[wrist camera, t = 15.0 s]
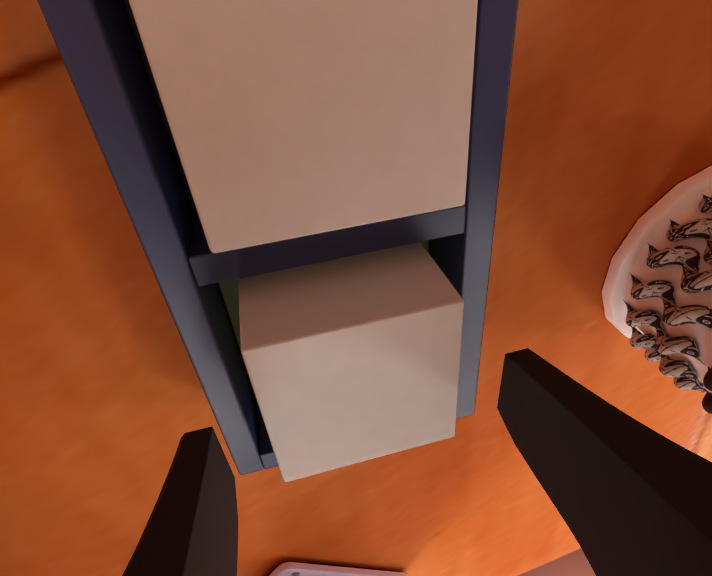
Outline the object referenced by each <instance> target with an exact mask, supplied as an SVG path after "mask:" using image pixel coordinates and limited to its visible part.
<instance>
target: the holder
mask: <svg viewBox="0 0 712 576" xmlns="http://www.w3.org/2000/svg"><path fill="white" fill-rule="evenodd" d="M37 1H38V3H39V5H40V8H41V10H42V12H43V15H44V17H45V20H46V22H47V24H48V27H49V29H50V31H51V34H52V36H53V38H54V41H55V43H56V45H57V48H58V50H59V52H60V55H61V57H62V59H63V62H64V64H65V66H66V69H67V71H68V73H69V76H70V78H71V80H72V83H73V85H74V87H75V90H76V92H77V95H78V97H79V99H80V102H81V104H82V106H83V109H84V111H85V113H86V116H87V118H88V120H89V123H90V125H91V127H92V130H93V132H94V134H95V137H96V139H97V141H98V144H99V146H100V148H101V151H102V153H103V155H104V158H105V160H106V163H107V165H108V167H109V170H110V172H111V174H112V177H113V179H114V181H115V184H116V186H117V188H118V191H119V193H120V195H121V198H122V200H123V202H124V205H125V207H126V209H127V212H128V214H129V216H130V219H131V221H132V223H133V226H134V228H135V230H136V233H137V235H138V238H139V240H140V242H141V245H142V247H143V249H144V252H145V254H146V256H147V259H148V261H149V263H150V266H151V268H152V270H153V273H154V275H155V277H156V280H157V282H158V284H159V287H160V289H161V291H162V294H163V296H164V298H165V301H166V303H167V305H168V308H169V310H170V313H171V315H172V317H173V320H174V322H175V324H176V327H177V329H178V331H179V334H180V336H181V338H182V341H183V343H184V345H185V348H186V350H187V352H188V355H189V357H190V359H191V362H192V364H193V366H194V369H195V371H196V373H197V376H198V378H199V380H200V383H201V385H202V388H203V390H204V392H205V395H206V397H207V399H208V402H209V404H210V406H211V409H212V411H213V413H214V416H215V418H216V420H217V423H218V425H219V427H220V430H221V432H222V434H223V437H224V439H225V441H226V444H227V446H228V448H229V451H230V453H231V456H232V458H233V460H234V463H235V465H236V467H237V470H238V472H239V474H240V475H244V474H248V473H252V472H255V471H259V470H262V469H263V468H265V469H268V468H272V467H276V466H278V463H277V460H276V457H275V454H274V451H273V448H272V444H271V441H270V438H269V435H268V432H267V429H266V426H265V423H264V420H263V417H262V414H261V411H260V408H259V405H258V402H257V399H256V396H255V393H254V390H253V387H252V384H251V381H250V378H249V375H248V372H247V368H246V365H245V362H244V359H243V356H242V353H241V341H240V317H239V293H238V279H239V278H244V277H249V276H254V275H259V274H264V273H269V272H274V271H279V270H284V269H289V268H293V267H298V266H303V265H308V264H313V263H318V262H323V261H328V260H333V259H338V258H343V257H348V256H353V255H358V254H363V253H368V252H373V251H378V250H383V249H387V248H392V247H397V246H402V245H407V244H412V243H417V242H420V243H421V244H422V245H423V247H424V248H425V249H426V251H427V252H428V253H429V255H430V256H431V257H432V259H433V260H434V261H435V263H436V264H437V265H438V267H439V268H440V269H441V271H442V272H443V273H444V275H445V276H446V277H447V279H448V280H449V281H450V283H451V284H452V286H453V287H454V288H455V290H456V291H457V292H458V294H459V295H460V296H461V298H462V299H463V300H464V309H463V323H462V337H461V351H460V366H459V380H458V394H457V408H456V419H457V418H461V417H464V416H468V415H472V414H474V410H475V401H476V391H477V382H478V373H479V363H480V354H481V345H482V335H483V326H484V317H485V307H486V298H487V289H488V279H489V270H490V261H491V251H492V242H493V233H494V223H495V214H496V205H497V195H498V186H499V177H500V167H501V158H502V149H503V139H504V130H505V121H506V111H507V102H508V93H509V84H510V74H511V65H512V56H513V46H514V37H515V28H516V18H517V9H518V0H478V4H477V21H476V37H475V53H474V69H473V85H472V101H471V117H470V133H469V149H468V165H467V182H466V198H465V204H464V205H462V206H458V207H453V208H448V209H442V210H437V211H432V212H427V213H422V214H416V215H411V216H406V217H401V218H396V219H391V220H385V221H380V222H375V223H370V224H365V225H359V226H354V227H349V228H344V229H339V230H333V231H328V232H323V233H318V234H313V235H307V236H302V237H297V238H292V239H287V240H282V241H276V242H271V243H266V244H261V245H256V246H250V247H245V248H240V249H235V250H230V251H224V252H219V253H212V251H211V250H210V249H209V246H208V243H207V240H206V237H205V233H204V230H203V227H202V224H201V221H200V218H199V215H198V212H197V209H196V206H195V203H194V200H193V197H192V193H191V190H190V187H189V184H188V181H187V178H186V175H185V172H184V169H183V166H182V163H181V160H180V157H179V153H178V150H177V147H176V144H175V141H174V138H173V135H172V132H171V129H170V126H169V123H168V120H167V117H166V114H165V110H164V107H163V104H162V101H161V98H160V95H159V92H158V89H157V86H156V83H155V80H154V77H153V74H152V70H151V67H150V64H149V61H148V58H147V55H146V52H145V49H144V46H143V43H142V40H141V37H140V34H139V30H138V27H137V24H136V21H135V18H134V15H133V12H132V9H131V6H130V3H129V0H37Z"/></svg>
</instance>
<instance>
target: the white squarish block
mask: <svg viewBox="0 0 712 576" xmlns="http://www.w3.org/2000/svg"><path fill="white" fill-rule="evenodd" d="M238 293H239V317H240V341H241V353H242V356H243V359H244V362H245V365H246V368H247V372H248V375H249V378H250V381H251V384H252V387H253V390H254V393H255V396H256V399H257V402H258V405H259V408H260V411H261V414H262V417H263V420H264V423H265V426H266V429H267V432H268V435H269V438H270V441H271V444H272V448H273V451H274V454H275V457H276V460H277V463H278V466H279V469H280V472H281V475H282V478H283V481H284V482H289V481H292V480H296V479H300V478H304V477H307V476H311V475H315V474H318V473H322V472H326V471H329V470H333V469H337V468H340V467H344V466H348V465H351V464H355V463H359V462H363V461H366V460H370V459H374V458H377V457H381V456H385V455H388V454H392V453H396V452H399V451H403V450H407V449H411V448H414V447H418V446H422V445H425V444H429V443H433V442H436V441H440V440H444V439H447V438H451V437H454V436H455V423H456V408H457V394H458V380H459V366H460V351H461V337H462V323H463V309H464V300H463V299H462V298H461V296H460V295H459V294H458V292H457V291H456V290H455V288H454V287H453V286H452V284H451V283H450V281H449V280H448V279H447V277H446V276H445V275H444V273H443V272H442V271H441V269H440V268H439V267H438V265H437V264H436V263H435V261H434V260H433V259H432V257H431V256H430V255H429V253H428V252H427V251H426V249H425V248H424V247H423V245H422V244H421V243H420V242H417V243H412V244H407V245H402V246H397V247H392V248H387V249H383V250H378V251H373V252H368V253H363V254H358V255H353V256H348V257H343V258H338V259H333V260H328V261H323V262H318V263H313V264H308V265H303V266H298V267H293V268H289V269H284V270H279V271H274V272H269V273H264V274H259V275H254V276H249V277H244V278H239V279H238Z"/></svg>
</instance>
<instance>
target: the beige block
mask: <svg viewBox="0 0 712 576" xmlns="http://www.w3.org/2000/svg"><path fill="white" fill-rule="evenodd" d="M129 3H130V6H131V9H132V12H133V15H134V18H135V21H136V24H137V27H138V30H139V34H140V37H141V40H142V43H143V46H144V49H145V52H146V55H147V58H148V61H149V64H150V67H151V70H152V74H153V77H154V80H155V83H156V86H157V89H158V92H159V95H160V98H161V101H162V104H163V107H164V110H165V114H166V117H167V120H168V123H169V126H170V129H171V132H172V135H173V138H174V141H175V144H176V147H177V150H178V153H179V157H180V160H181V163H182V166H183V169H184V172H185V175H186V178H187V181H188V184H189V187H190V190H191V193H192V197H193V200H194V203H195V206H196V209H197V212H198V215H199V218H200V221H201V224H202V227H203V230H204V233H205V237H206V240H207V243H208V246H209V249H210V250H211V251H212V253H219V252H224V251H230V250H235V249H240V248H245V247H250V246H256V245H261V244H266V243H271V242H276V241H282V240H287V239H292V238H297V237H302V236H307V235H313V234H318V233H323V232H328V231H333V230H339V229H344V228H349V227H354V226H359V225H365V224H370V223H375V222H380V221H385V220H391V219H396V218H401V217H406V216H411V215H416V214H422V213H427V212H432V211H437V210H442V209H448V208H453V207H458V206H462V205H464V204H465V198H466V182H467V165H468V149H469V133H470V117H471V101H472V85H473V69H474V53H475V37H476V21H477V4H478V0H129Z"/></svg>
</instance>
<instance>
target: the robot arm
mask: <svg viewBox="0 0 712 576" xmlns="http://www.w3.org/2000/svg"><path fill="white" fill-rule="evenodd" d="M497 408H498V410H499V413H500V415H501V417H502V419H503V421H504V423H505V425H506V427H507V429H508V431H509V433H510V435H511V437H512V439H513V441H514V443H515V445H516V447H517V448H518V450H519V451H520V453H521V454H522V456H523V458H524V459H525V461H526V462H527V464H528V465H529V467H530V468H531V470H532V472H533V473H534V475H535V476H536V478H537V479H538V481H539V482H540V484H541V485H542V487H543V488H544V490H545V491H546V493H547V494H548V496H549V498H550V499H551V501H552V502H553V504H554V505H555V507H556V508H557V510H558V511H559V513H560V514H561V516H562V517H563V519H564V520H565V522H566V524H567V525H568V527H569V528H570V530H571V531H572V533H573V535H574V536H575V538H576V540H577V541H578V543H579V545H580V546H581V548H582V550H583V552H584V554H585V556H586V557H587V559H588V561H589V563H590V565H591V567H592V569H593V571H594V572H595V574H596V576H712V462H710V461H708V460H706V459H704V458H703V457H701V456H699V455H697V454H695V453H693V452H691V451H689V450H687V449H685V448H683V447H682V446H680V445H678V444H676V443H674V442H673V441H671V440H669V439H667V438H665V437H664V436H662V435H660V434H659V433H657V432H655V431H654V430H652V429H650V428H648V427H647V426H645V425H643V424H642V423H640V422H638V421H637V420H635V419H633V418H632V417H630V416H628V415H627V414H625V413H624V412H622V411H620V410H619V409H617V408H616V407H614V406H613V405H611V404H609V403H608V402H606V401H605V400H603V399H602V398H600V397H599V396H597V395H596V394H594V393H593V392H591V391H590V390H588V389H587V388H585V387H584V386H582V385H581V384H579V383H578V382H576V381H575V380H573V379H572V378H570V377H569V376H567V375H566V374H564V373H563V372H562V371H560V370H559V369H557V368H556V367H554V366H553V365H551V364H550V363H549V362H547V361H546V360H544V359H543V358H541V357H540V356H538V355H537V354H535V353H534V352H532V351H531V350H529V349H528V348H527V349H523V350H519V351H515V352H511V353H507V354H505V359H504V366H503V372H502V379H501V386H500V393H499V399H498V406H497ZM237 553H238V513H237V500H236V488H235V477H234V475H233V473H232V471H231V468H230V466H229V464H228V461H227V459H226V457H225V455H224V452H223V450H222V448H221V445H220V443H219V441H218V439H217V436H216V434H215V432H214V429H213V427H208V428H204V429H200V430H196V431H192V432H188V433H185V434H184V435H183V436H182V437H181V440H180V443H179V445H178V448H177V451H176V454H175V457H174V459H173V462H172V465H171V467H170V470H169V472H168V475H167V478H166V480H165V483H164V485H163V487H162V490H161V492H160V495H159V497H158V500H157V502H156V504H155V507H154V509H153V511H152V513H151V516H150V518H149V520H148V522H147V525H146V527H145V529H144V532H143V534H142V536H141V538H140V540H139V543H138V545H137V547H136V549H135V551H134V553H133V555H132V557H131V559H130V561H129V563H128V565H127V567H126V569H125V571H124V573H123V575H122V576H237ZM269 576H408V574H407V573H403V572H392V571H382V570H371V569H361V568H350V567H340V566H329V565H319V564H308V563H298V562H285V563H282V564H281V565H279V566H278V567H277V568H276V569H275V570H274V571H273V572H272V573H271V574H270V575H269Z"/></svg>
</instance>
